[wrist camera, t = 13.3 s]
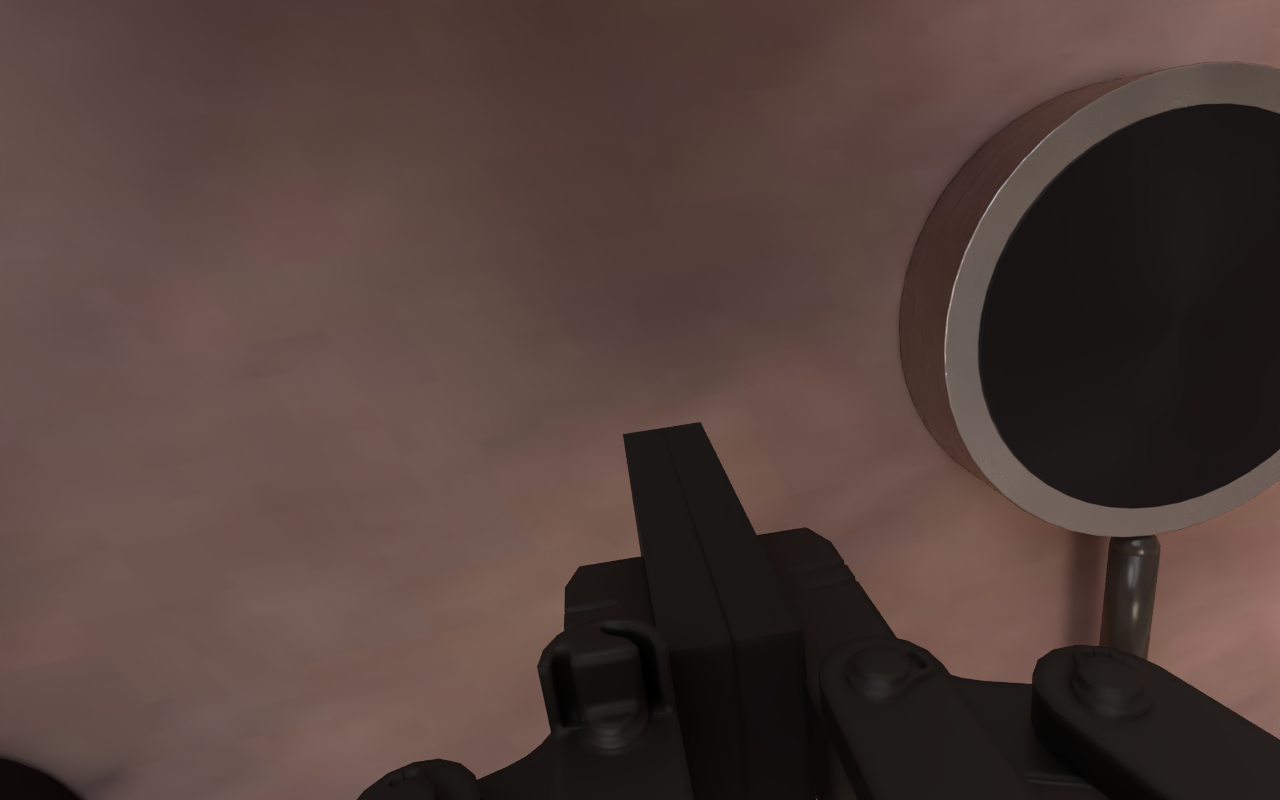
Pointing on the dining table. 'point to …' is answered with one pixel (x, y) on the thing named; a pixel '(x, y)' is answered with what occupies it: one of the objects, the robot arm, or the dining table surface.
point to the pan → (1111, 314)
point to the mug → (27, 784)
